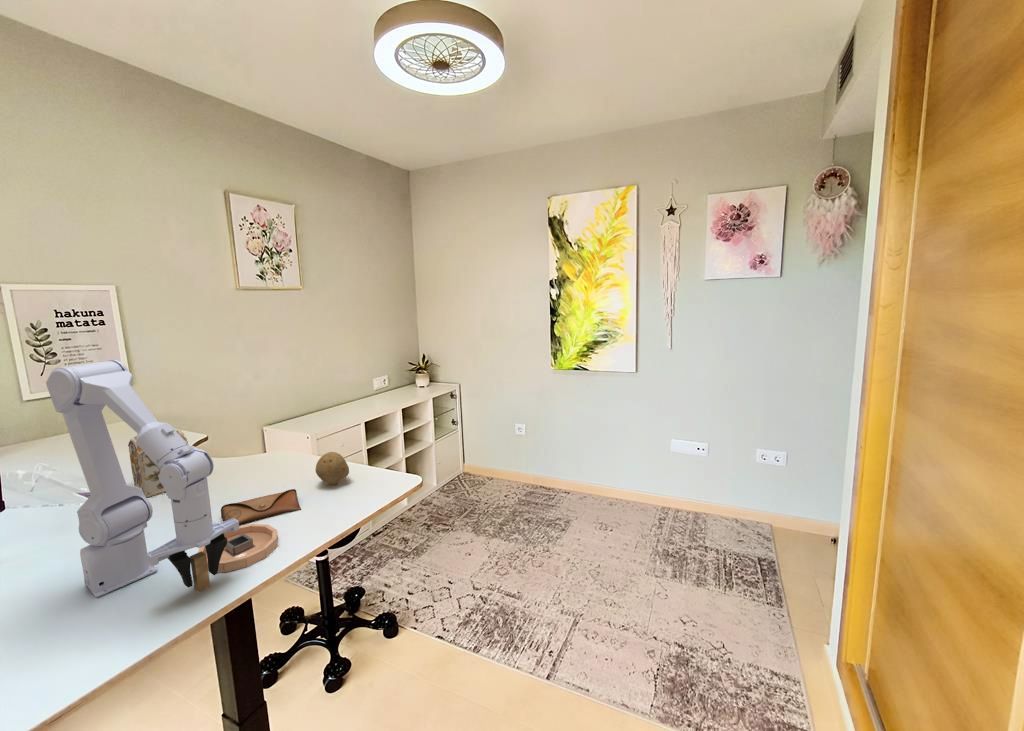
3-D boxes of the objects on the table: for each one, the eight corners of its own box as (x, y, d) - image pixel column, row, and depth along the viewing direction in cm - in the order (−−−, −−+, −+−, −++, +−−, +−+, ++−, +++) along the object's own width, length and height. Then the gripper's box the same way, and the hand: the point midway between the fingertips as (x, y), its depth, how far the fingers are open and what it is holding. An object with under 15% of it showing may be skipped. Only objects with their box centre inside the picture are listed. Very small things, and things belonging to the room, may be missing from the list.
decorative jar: (144, 499, 118) (134, 437, 115) (133, 487, 125) (124, 429, 122) (195, 484, 128) (187, 427, 125) (182, 474, 135) (175, 419, 132)
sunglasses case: (223, 531, 103) (219, 503, 104) (222, 533, 108) (219, 507, 110) (303, 509, 114) (299, 484, 115) (300, 512, 119) (296, 488, 121)
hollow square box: (233, 557, 92) (232, 549, 92) (223, 549, 95) (222, 542, 94) (255, 546, 96) (254, 539, 96) (245, 540, 98) (244, 533, 98)
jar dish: (217, 581, 85) (216, 572, 85) (186, 555, 93) (185, 547, 93) (290, 545, 97) (289, 537, 97) (257, 525, 106) (256, 518, 105)
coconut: (312, 482, 129) (309, 451, 127) (341, 474, 135) (339, 444, 133) (322, 493, 122) (319, 460, 121) (352, 484, 128) (350, 453, 127)
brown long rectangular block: (198, 592, 82) (194, 559, 81) (194, 588, 83) (189, 556, 82) (210, 586, 84) (206, 554, 82) (205, 582, 85) (201, 551, 84)
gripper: (153, 539, 73) (163, 609, 75) (243, 505, 84) (250, 566, 87) (138, 527, 76) (149, 594, 79) (227, 495, 88) (234, 554, 91)
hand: (201, 578), depth 83 cm, fingers open, 4 cm apart
